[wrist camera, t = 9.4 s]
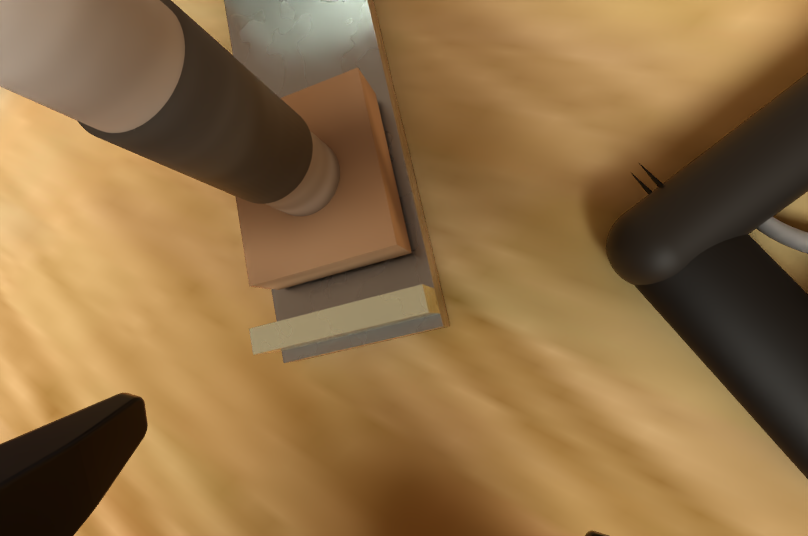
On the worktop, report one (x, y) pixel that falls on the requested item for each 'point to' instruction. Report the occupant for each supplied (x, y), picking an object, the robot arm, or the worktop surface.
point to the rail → (416, 272)
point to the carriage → (218, 128)
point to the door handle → (733, 264)
